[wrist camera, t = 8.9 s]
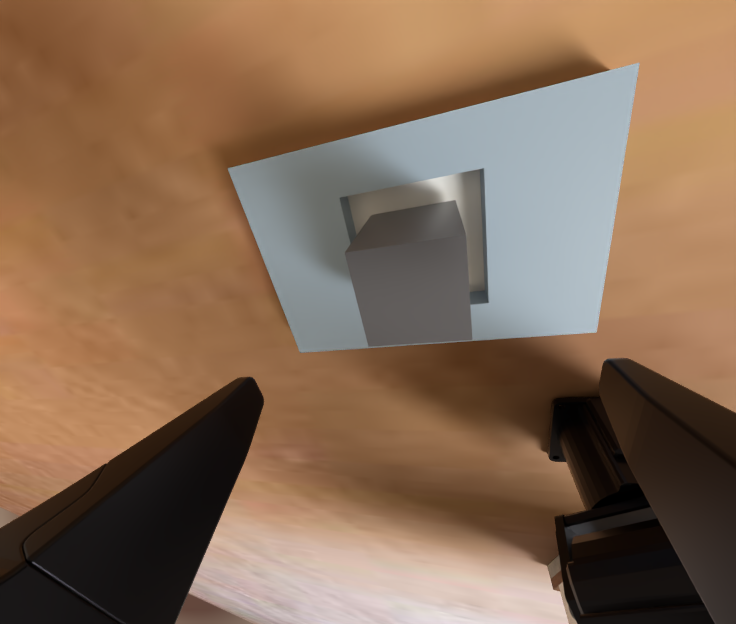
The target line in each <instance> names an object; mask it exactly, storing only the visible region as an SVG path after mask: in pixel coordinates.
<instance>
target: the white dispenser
mask: <svg viewBox="0 0 736 624" xmlns="http://www.w3.org/2000/svg"><path fill="white" fill-rule="evenodd" d="M547 567H548V571H549V574H550V578H551V582H552V586H553V590H557V591H560V592H561V596H562V600H563V603H564V607H565V611H566V614H567V618H568V621H569V624H577V622H576V620H574V618H573V617H572V615H571V613H570V611H569V607H568V603H567V601H566V598H565V594H564V587H563V580H562V573H561V566H560V558H559V555H558V556H557V557H556V558H555V559H554V560H553V561H552V562H551V563H550V564H549V565H548V566H547Z"/></svg>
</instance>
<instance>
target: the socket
mask: <svg viewBox="0 0 736 624" xmlns="http://www.w3.org/2000/svg"><path fill="white" fill-rule="evenodd" d="M638 69H639V63H637V64H633V65H629V66H625V67H621V68H617V69H613V70H609V71H605V72H601V73H598V74H594V75H590V76H586V77H582V78H578V79H574V80H570V81H566V82H562V83H559V84H555V85H551V86H547V87H543V88H539V89H535V90H531V91H527V92H523V93H520V94H516V95H512V96H508V97H504V98H500V99H496V100H492V101H488V102H484V103H481V104H477V105H473V106H469V107H465V108H461V109H457V110H453V111H449V112H446V113H442V114H438V115H434V116H430V117H426V118H422V119H418V120H414V121H410V122H407V123H403V124H399V125H395V126H391V127H387V128H383V129H379V130H375V131H371V132H368V133H364V134H360V135H356V136H352V137H348V138H344V139H340V140H336V141H332V142H329V143H325V144H321V145H317V146H313V147H309V148H305V149H301V150H297V151H293V152H290V153H286V154H282V155H278V156H274V157H270V158H266V159H262V160H258V161H254V162H251V163H247V164H243V165H239V166H235V167H231V168H228V171H229V173H230V176H231V179H232V181H233V184H234V186H235V189H236V191H237V194H238V196H239V199H240V201H241V204H242V206H243V209H244V212H245V214H246V217H247V219H248V222H249V224H250V227H251V229H252V232H253V234H254V237H255V240H256V242H257V245H258V247H259V250H260V252H261V255H262V257H263V260H264V262H265V265H266V267H267V270H268V273H269V275H270V278H271V280H272V283H273V285H274V288H275V290H276V293H277V295H278V298H279V300H280V303H281V306H282V308H283V311H284V313H285V316H286V318H287V321H288V323H289V326H290V328H291V331H292V334H293V336H294V339H295V341H296V344H297V346H298V349H299V351H300V353H305V352H319V351H334V350H348V349H363V348H377V347H392V346H406V345H421V344H435V343H450V342H464V341H450V342H435V343H420V344H404V345H389V346H373V347H368V343H367V339H366V335H365V331H364V327H363V323H362V319H361V315H360V311H359V308H358V304H357V300H356V296H355V292H354V288H353V284H352V280H351V276H350V272H349V268H348V264H347V260H346V256H345V251H346V250H347V249H348V247H349V246H350V244H351V243H352V241H353V240H354V239H355V237H356V236H357V234H358V233H359V232H360V230H361V229H362V227H363V226H364V225H365V223H366V222H367V220H368V219H369V217H370V216H371V215H374V214H379V213H385V212H391V211H396V210H402V209H407V208H413V207H419V206H424V205H430V204H436V203H441V202H447V201H452V200H456V203H457V207H458V210H459V213H460V216H461V219H462V223H463V226H464V229H465V232H466V238H467V255H468V272H469V289H470V306H471V323H472V340H466V341H479V340H493V339H508V338H522V337H537V336H551V335H566V334H580V333H595V332H597V326H598V320H599V313H600V307H601V301H602V295H603V288H604V282H605V276H606V270H607V263H608V257H609V251H610V245H611V238H612V232H613V226H614V220H615V213H616V207H617V201H618V194H619V188H620V182H621V176H622V169H623V163H624V157H625V151H626V144H627V138H628V132H629V126H630V119H631V113H632V107H633V101H634V94H635V88H636V82H637V76H638Z"/></svg>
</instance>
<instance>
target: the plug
mask: <svg viewBox="0 0 736 624" xmlns="http://www.w3.org/2000/svg"><path fill="white" fill-rule="evenodd" d="M345 256H346V260H347V264H348V268H349V272H350V276H351V280H352V284H353V288H354V292H355V296H356V300H357V304H358V308H359V311H360V315H361V319H362V323H363V327H364V331H365V335H366V339H367V343H368V347H373V346H389V345H404V344H420V343H435V342H450V341H466V340H472V323H471V306H470V289H469V272H468V255H467V238H466V232H465V229H464V226H463V223H462V219H461V216H460V213H459V210H458V207H457V203H456V200H452V201H447V202H441V203H436V204H430V205H424V206H419V207H413V208H407V209H402V210H396V211H391V212H385V213H379V214H374V215H371V216H370V217H369V219H368V220H367V222H366V223H365V225H364V226H363V227H362V229H361V230H360V232H359V233H358V234H357V236H356V237H355V239H354V240H353V241H352V243H351V244H350V246H349V247H348V249H347V250H346V251H345Z"/></svg>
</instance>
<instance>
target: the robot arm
mask: <svg viewBox="0 0 736 624" xmlns="http://www.w3.org/2000/svg"><path fill="white" fill-rule="evenodd" d="M599 394H600V397H590V398H558V399H555V400H554V401H553V402H552V407H551V418H550V429H549V440H548V452H547V453H548V457H549V459H550V460H551V461H555V462H567V464H568V467H569V469H570V472H571V474H572V477H573V479H574V482H575V484H576V487H577V489H578V492H579V494H580V497H581V499H582V502H583V504H584V507H585V509H586V510H585V511H581V512H578V513H574V514H570V515H566V516H565V515H559V516H555V525H556V537H557V544H558V551H559V558H560V566H561V573H562V580H563V587H564V594H565V598H566V601H567V603H568V607H569V611H570V613H571V615H572V617H573V618H574V620H576V622H577V624H736V413H735V412H733V411H731V410H729V409H727V408H725V407H723V406H721V405H719V404H717V403H715V402H713V401H711V400H709V399H708V398H706V397H704V396H702V395H700V394H698V393H696V392H694V391H692V390H690V389H688V388H686V387H684V386H682V385H680V384H678V383H676V382H674V381H672V380H670V379H668V378H666V377H664V376H662V375H660V374H658V373H656V372H654V371H652V370H651V369H649V368H647V367H645V366H643V365H641V364H639V363H637V362H635V361H633V360H631V359H628V358H614V359H607V360H605V361H604V363H603V366H602V371H601V377H600V382H599ZM263 405H264V398H263V395H262V393H261V391H260V389H259V387H258V385H257V383H256V381H255V380H254V379H253V378H252V377H240V378H237V379H235V380H234V381H232V382H231V383H229V384H228V385H226V386H225V387H223V388H221V389H220V390H218V391H217V392H215V393H214V394H212V395H211V396H209V397H208V398H206V399H204V400H203V401H201V402H200V403H198V404H197V405H195V406H194V407H192V408H191V409H189V410H187V411H186V412H184V413H183V414H181V415H180V416H178V417H177V418H175V419H174V420H172V421H170V422H169V423H167V424H166V425H164V426H163V427H161V428H160V429H158V430H157V431H155V432H153V433H152V434H150V435H149V436H147V437H146V438H144V439H143V440H141V441H139V442H138V443H136V444H135V445H133V446H132V447H130V448H129V449H127V450H126V451H124V452H122V453H121V454H119V455H118V456H116V457H115V458H113V459H112V460H110V461H109V462H108V463H106V464H104V465H102V466H101V467H99V468H98V469H96V470H95V471H93V472H91V473H90V474H88V475H87V476H85V477H84V478H82V479H80V480H79V481H77V482H76V483H74V484H72V485H71V486H69V487H68V488H66V489H65V490H63V491H61V492H60V493H58V494H56V495H55V496H53V497H51V498H50V499H48V500H46V501H45V502H43V503H42V504H40V505H38V506H37V507H35V508H33V509H32V510H30V511H28V512H27V513H25V514H23V515H21V516H20V517H18V518H17V519H15V520H13V521H11V522H10V523H8V524H6V525H5V526H3V527H1V528H0V624H175V623H176V620H177V618H178V616H179V613H180V611H181V609H182V606H183V604H184V602H185V599H186V597H187V595H188V592H189V590H190V588H191V585H192V583H193V581H194V578H195V576H196V574H197V571H198V569H199V567H200V564H201V562H202V560H203V557H204V555H205V553H206V550H207V548H208V546H209V543H210V541H211V539H212V536H213V534H214V532H215V529H216V527H217V525H218V522H219V520H220V518H221V515H222V513H223V511H224V508H225V506H226V503H227V501H228V499H229V496H230V494H231V492H232V489H233V487H234V485H235V482H236V480H237V478H238V475H239V473H240V471H241V468H242V466H243V464H244V461H245V459H246V456H247V454H248V451H249V448H250V445H251V442H252V439H253V436H254V433H255V430H256V427H257V424H258V420H259V417H260V414H261V411H262V408H263ZM559 405H561V406H559Z"/></svg>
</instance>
